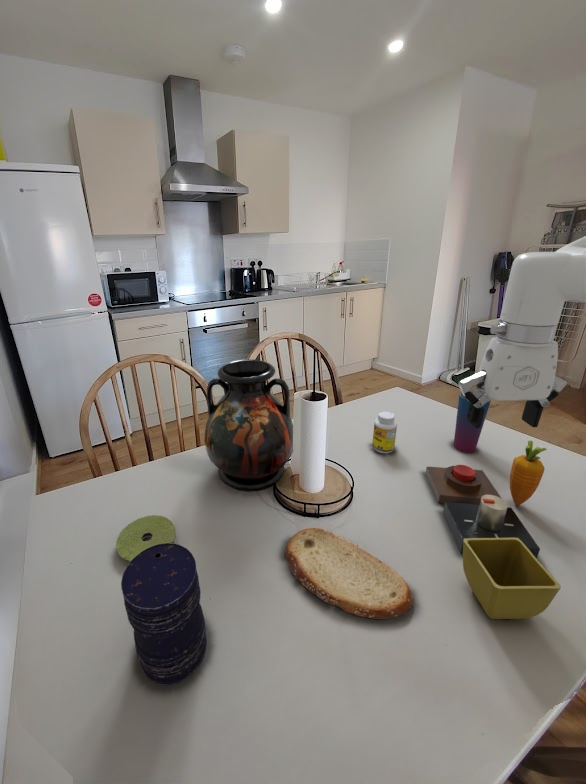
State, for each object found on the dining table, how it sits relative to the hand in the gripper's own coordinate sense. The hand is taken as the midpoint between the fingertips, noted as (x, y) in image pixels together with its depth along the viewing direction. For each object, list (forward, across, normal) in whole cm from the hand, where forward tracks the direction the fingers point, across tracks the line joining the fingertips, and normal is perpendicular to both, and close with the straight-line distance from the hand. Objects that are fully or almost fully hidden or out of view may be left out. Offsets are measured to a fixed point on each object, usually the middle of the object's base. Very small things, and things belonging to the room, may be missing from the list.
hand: (501, 423), depth 64 cm
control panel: (+21, -1, -5) cm, 22 cm away
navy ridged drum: (+22, -57, -26) cm, 66 cm away
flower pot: (+22, -7, -18) cm, 29 cm away
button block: (+21, +1, +8) cm, 23 cm away
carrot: (+21, +10, +3) cm, 24 cm away
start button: (+18, +1, +8) cm, 19 cm away
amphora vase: (+22, -46, +15) cm, 53 cm away
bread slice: (+22, -30, -13) cm, 39 cm away
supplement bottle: (+22, -11, +25) cm, 35 cm away
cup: (+21, +10, +25) cm, 34 cm away
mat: (+22, -66, -7) cm, 70 cm away
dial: (+18, -1, -5) cm, 19 cm away
